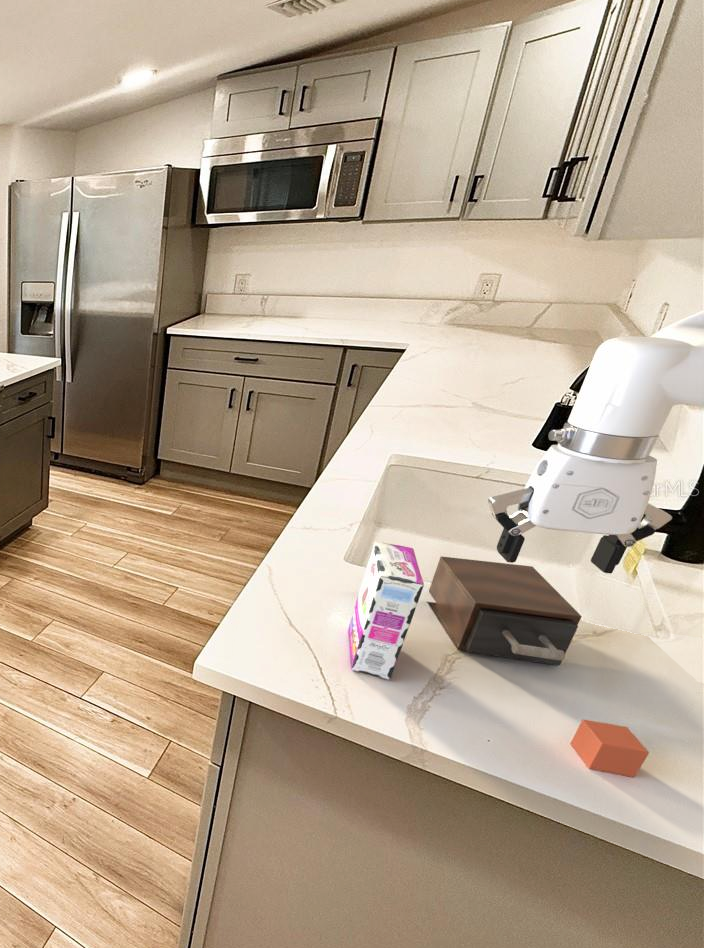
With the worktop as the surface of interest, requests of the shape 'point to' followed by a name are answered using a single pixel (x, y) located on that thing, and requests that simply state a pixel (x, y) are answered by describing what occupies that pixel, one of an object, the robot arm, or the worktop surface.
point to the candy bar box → (384, 609)
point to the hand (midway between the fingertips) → (552, 562)
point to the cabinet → (490, 595)
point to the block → (609, 748)
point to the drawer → (521, 636)
